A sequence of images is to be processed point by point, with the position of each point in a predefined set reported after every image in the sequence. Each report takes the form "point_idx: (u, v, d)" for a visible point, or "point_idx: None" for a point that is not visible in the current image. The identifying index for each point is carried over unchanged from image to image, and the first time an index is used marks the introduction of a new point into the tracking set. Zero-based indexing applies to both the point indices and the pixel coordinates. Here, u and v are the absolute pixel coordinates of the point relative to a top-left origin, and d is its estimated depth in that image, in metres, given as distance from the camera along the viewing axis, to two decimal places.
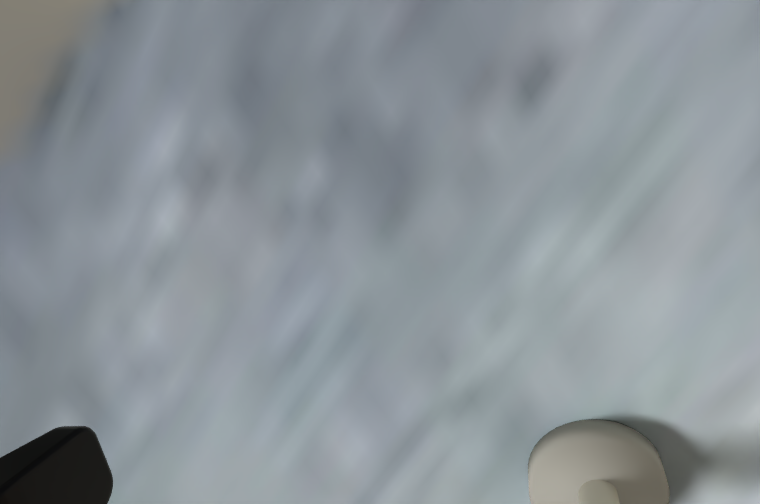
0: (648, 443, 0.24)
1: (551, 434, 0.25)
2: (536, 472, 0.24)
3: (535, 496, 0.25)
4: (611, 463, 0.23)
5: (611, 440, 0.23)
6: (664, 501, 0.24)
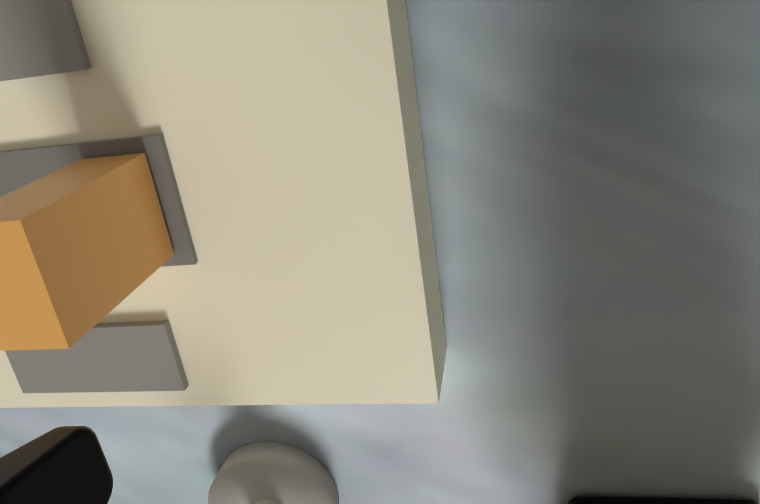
0: (229, 456, 0.26)
1: None
2: None
3: None
4: (231, 501, 0.25)
5: None
6: (265, 465, 0.24)
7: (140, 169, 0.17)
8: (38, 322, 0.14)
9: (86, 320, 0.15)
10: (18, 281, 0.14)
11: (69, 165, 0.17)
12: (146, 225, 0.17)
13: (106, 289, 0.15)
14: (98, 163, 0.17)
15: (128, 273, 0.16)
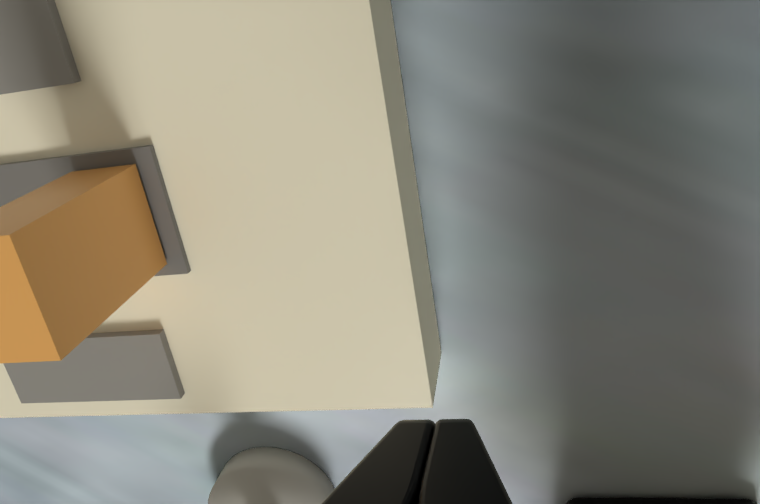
0: (228, 463, 0.26)
1: None
2: None
3: None
4: None
5: None
6: (263, 471, 0.24)
7: (131, 181, 0.17)
8: (30, 335, 0.14)
9: (78, 332, 0.15)
10: (9, 295, 0.14)
11: (61, 177, 0.17)
12: (138, 236, 0.17)
13: (98, 300, 0.16)
14: (89, 175, 0.17)
15: (120, 284, 0.17)
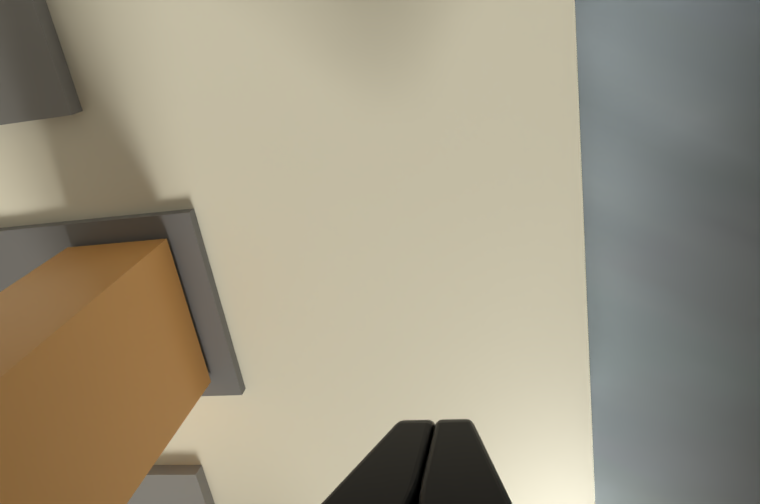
0: None
1: None
2: None
3: None
4: None
5: None
6: None
7: (160, 267, 0.11)
8: None
9: None
10: None
11: (51, 261, 0.11)
12: (171, 351, 0.11)
13: (110, 482, 0.09)
14: (95, 259, 0.11)
15: (145, 439, 0.10)
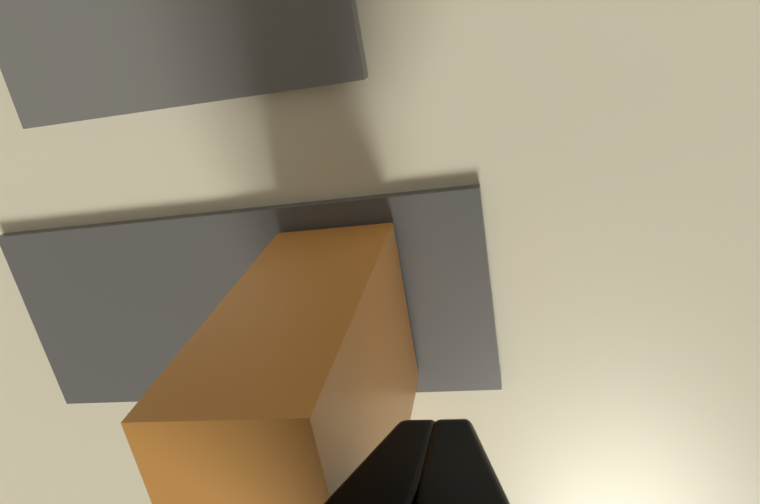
0: None
1: None
2: None
3: None
4: None
5: None
6: None
7: (392, 252, 0.10)
8: None
9: None
10: None
11: (271, 247, 0.10)
12: (401, 344, 0.10)
13: None
14: (325, 244, 0.10)
15: None
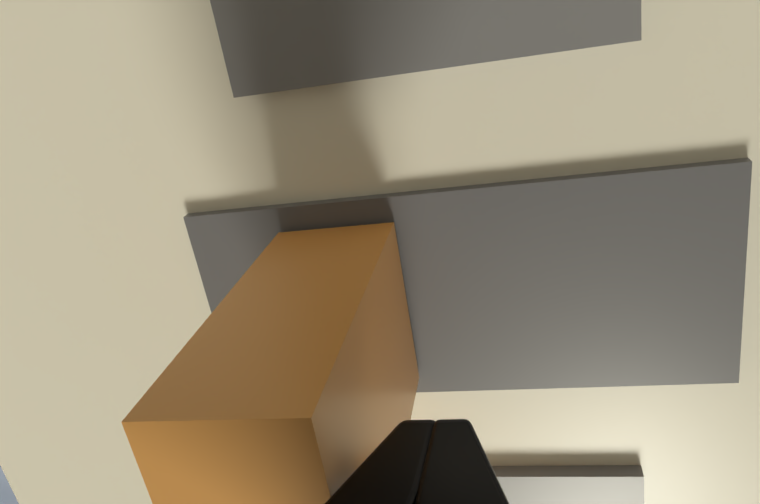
0: None
1: None
2: None
3: None
4: None
5: None
6: None
7: (392, 253, 0.10)
8: None
9: None
10: None
11: (272, 246, 0.10)
12: (401, 344, 0.10)
13: None
14: (326, 244, 0.10)
15: None
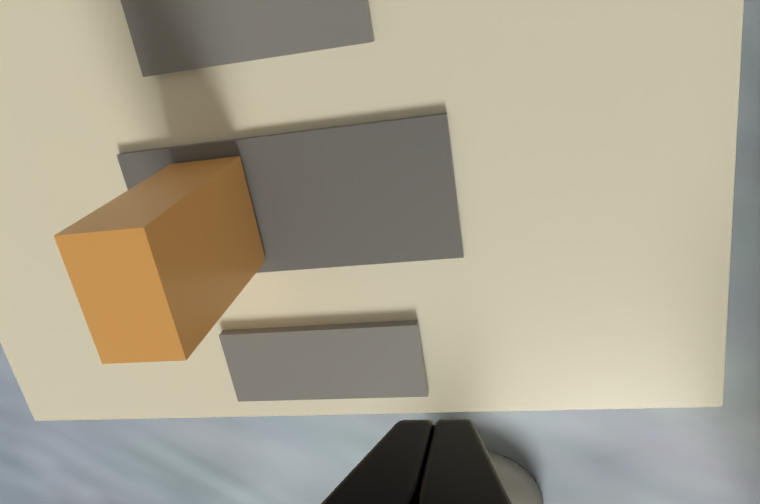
0: None
1: None
2: None
3: None
4: None
5: None
6: None
7: (237, 173, 0.17)
8: (155, 333, 0.13)
9: (199, 330, 0.14)
10: (136, 291, 0.13)
11: (163, 170, 0.17)
12: (243, 231, 0.17)
13: (213, 298, 0.15)
14: (194, 167, 0.16)
15: (230, 281, 0.16)
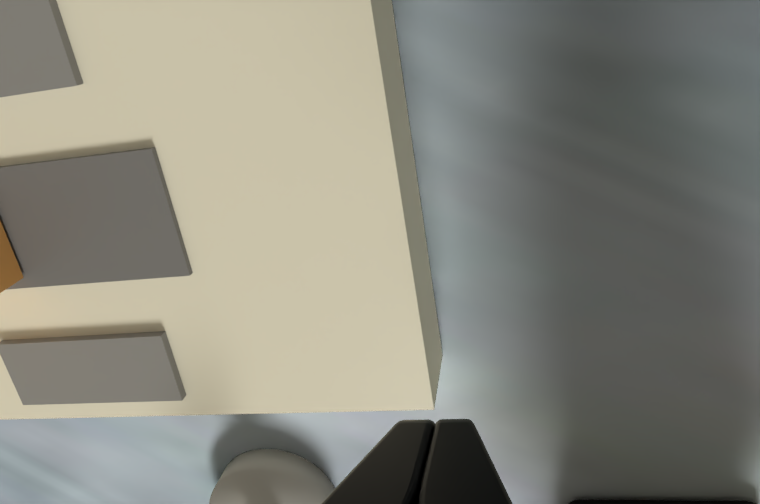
0: (229, 464, 0.26)
1: None
2: None
3: None
4: None
5: None
6: (264, 473, 0.24)
7: None
8: None
9: None
10: None
11: None
12: None
13: None
14: None
15: None
